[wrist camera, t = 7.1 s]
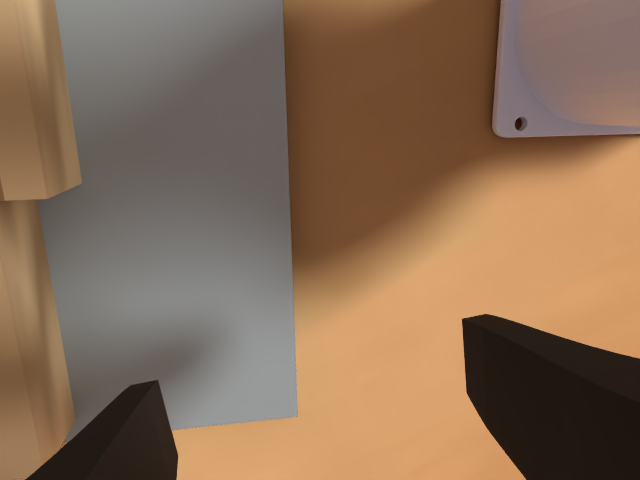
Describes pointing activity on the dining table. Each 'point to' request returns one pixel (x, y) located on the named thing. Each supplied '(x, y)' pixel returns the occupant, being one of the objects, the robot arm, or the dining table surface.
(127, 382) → the board
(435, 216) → the dining table surface
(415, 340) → the dining table surface
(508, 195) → the dining table surface
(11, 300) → the link
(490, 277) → the dining table surface
